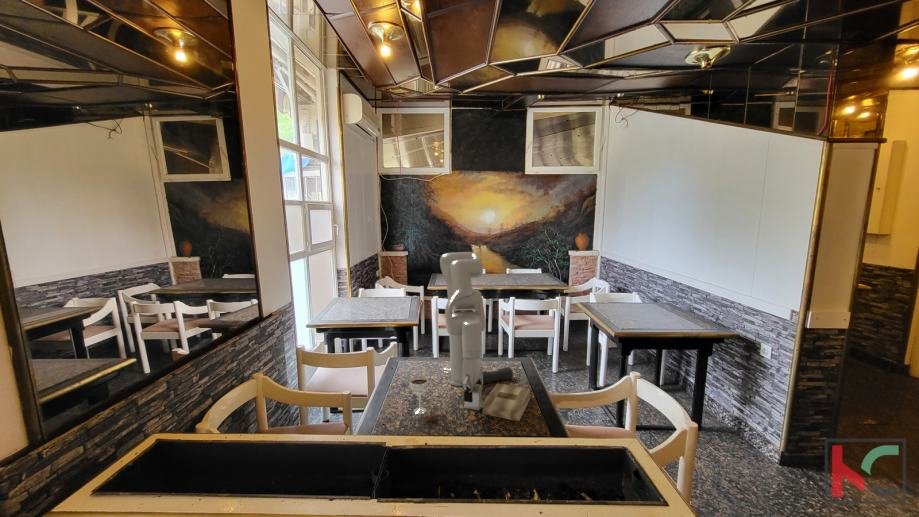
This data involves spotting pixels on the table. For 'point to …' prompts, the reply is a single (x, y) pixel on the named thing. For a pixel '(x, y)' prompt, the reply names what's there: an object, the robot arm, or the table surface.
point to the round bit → (482, 378)
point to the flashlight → (498, 375)
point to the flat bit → (475, 398)
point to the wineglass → (419, 391)
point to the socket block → (506, 402)
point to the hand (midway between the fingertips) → (473, 395)
